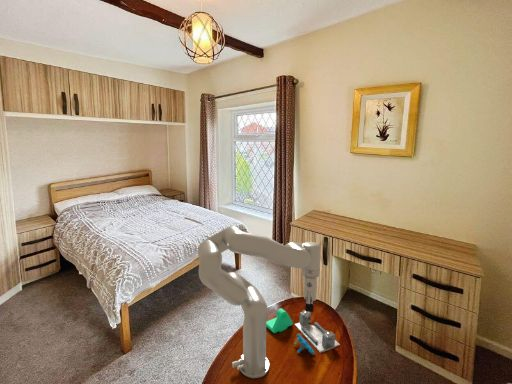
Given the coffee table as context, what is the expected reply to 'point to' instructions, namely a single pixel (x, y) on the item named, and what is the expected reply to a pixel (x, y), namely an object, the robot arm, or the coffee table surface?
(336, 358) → the coffee table surface
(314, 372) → the coffee table surface
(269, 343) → the coffee table surface
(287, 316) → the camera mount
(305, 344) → the gear
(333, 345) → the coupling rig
